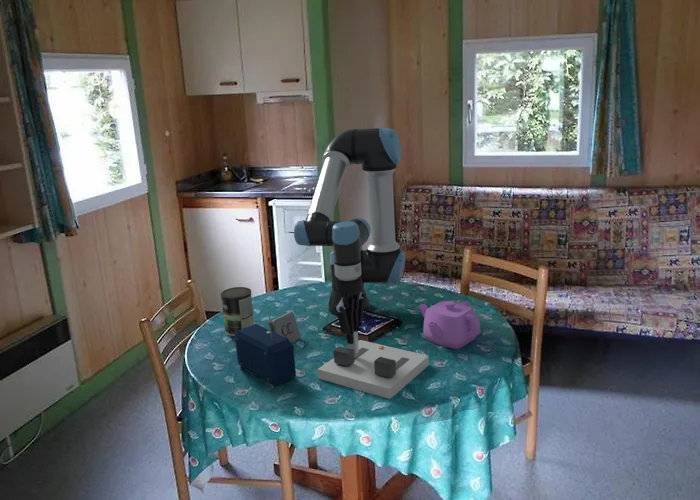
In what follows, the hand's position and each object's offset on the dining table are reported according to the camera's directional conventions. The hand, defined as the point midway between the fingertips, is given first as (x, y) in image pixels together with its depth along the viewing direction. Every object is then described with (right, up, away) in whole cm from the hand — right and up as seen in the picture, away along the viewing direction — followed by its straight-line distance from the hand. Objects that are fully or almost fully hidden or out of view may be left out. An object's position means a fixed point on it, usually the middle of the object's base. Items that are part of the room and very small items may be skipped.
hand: (353, 351), depth 186 cm
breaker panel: (+6, -5, -3) cm, 8 cm away
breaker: (+9, -4, -12) cm, 15 cm away
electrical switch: (-22, 0, +21) cm, 31 cm away
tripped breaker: (-3, -3, -4) cm, 5 cm away
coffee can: (-39, +2, +32) cm, 50 cm away
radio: (-26, -6, +1) cm, 26 cm away
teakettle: (+30, +1, +16) cm, 34 cm away
